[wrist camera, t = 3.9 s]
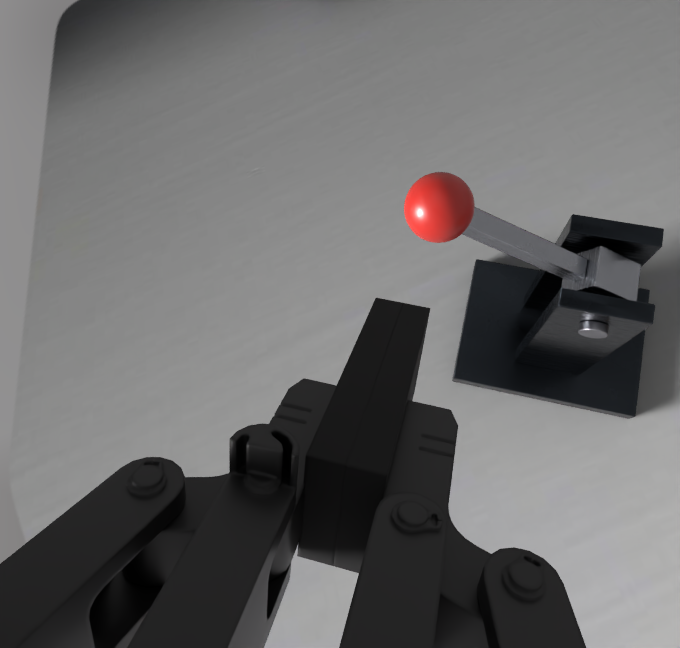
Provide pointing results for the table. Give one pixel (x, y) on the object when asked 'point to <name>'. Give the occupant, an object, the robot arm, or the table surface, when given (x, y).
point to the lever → (513, 238)
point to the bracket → (559, 327)
